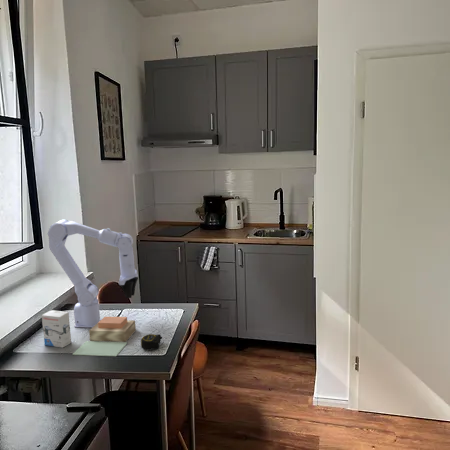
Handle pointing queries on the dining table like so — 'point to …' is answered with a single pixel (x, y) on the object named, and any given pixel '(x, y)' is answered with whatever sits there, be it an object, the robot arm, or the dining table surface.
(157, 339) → the tape measure
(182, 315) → the dining table surface
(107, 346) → the mat
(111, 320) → the block
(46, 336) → the ink box
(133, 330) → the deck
